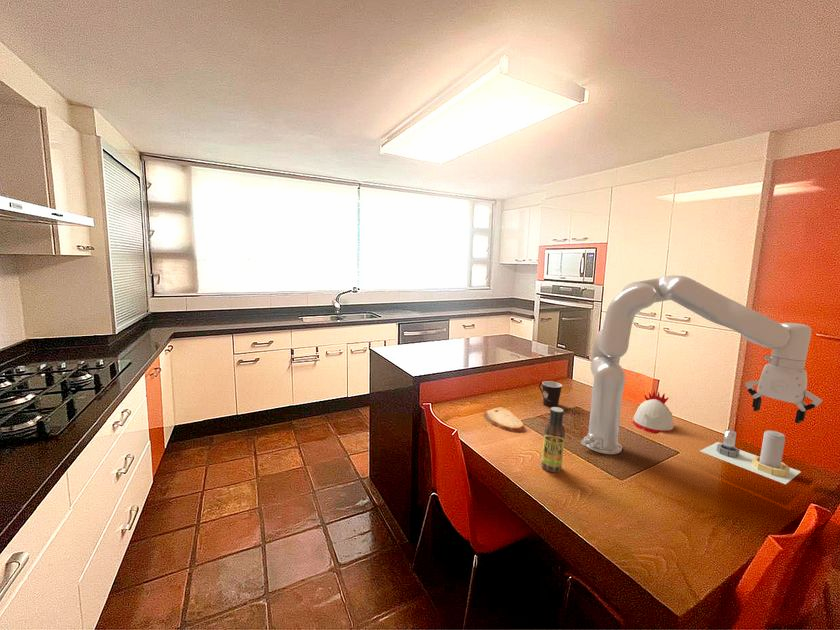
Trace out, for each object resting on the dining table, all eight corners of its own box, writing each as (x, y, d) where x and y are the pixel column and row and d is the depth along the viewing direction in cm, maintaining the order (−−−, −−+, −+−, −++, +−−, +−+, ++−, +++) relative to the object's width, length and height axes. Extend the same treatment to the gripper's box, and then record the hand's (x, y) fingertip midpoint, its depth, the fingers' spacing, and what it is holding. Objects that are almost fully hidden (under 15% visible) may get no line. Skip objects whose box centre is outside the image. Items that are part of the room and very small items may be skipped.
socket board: (784, 488, 107) (786, 478, 107) (698, 454, 126) (700, 445, 126) (800, 475, 114) (802, 465, 114) (717, 444, 133) (718, 436, 133)
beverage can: (781, 474, 112) (787, 438, 110) (760, 469, 115) (766, 434, 113) (777, 467, 116) (782, 432, 115) (757, 463, 119) (762, 428, 117)
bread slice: (524, 435, 139) (525, 425, 139) (478, 426, 145) (478, 418, 145) (528, 416, 156) (528, 408, 155) (486, 410, 162) (487, 402, 161)
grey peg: (731, 456, 123) (734, 434, 122) (720, 452, 125) (723, 430, 124) (734, 454, 124) (738, 432, 123) (724, 450, 127) (727, 428, 126)
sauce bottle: (540, 470, 114) (544, 410, 111) (541, 460, 120) (545, 403, 117) (562, 475, 112) (566, 414, 109) (562, 465, 118) (566, 406, 115)
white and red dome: (672, 437, 138) (676, 400, 136) (630, 427, 146) (634, 392, 144) (673, 425, 149) (678, 390, 147) (635, 416, 157) (638, 383, 155)
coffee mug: (563, 408, 165) (564, 387, 163) (544, 408, 165) (545, 387, 163) (554, 399, 176) (555, 379, 175) (536, 398, 176) (537, 379, 175)
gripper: (745, 357, 116) (736, 408, 119) (824, 372, 101) (812, 430, 104) (755, 355, 120) (746, 404, 122) (832, 369, 105) (820, 425, 108)
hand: (776, 416), depth 113 cm, fingers open, 9 cm apart
